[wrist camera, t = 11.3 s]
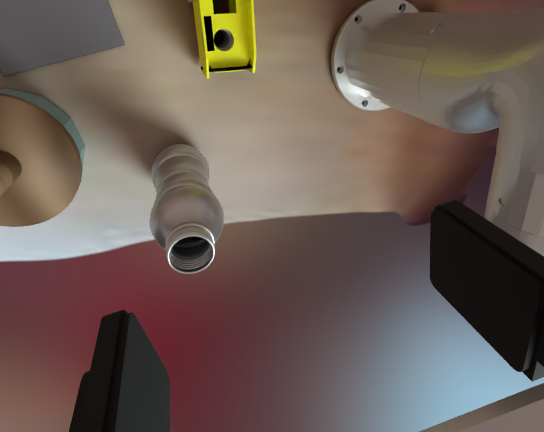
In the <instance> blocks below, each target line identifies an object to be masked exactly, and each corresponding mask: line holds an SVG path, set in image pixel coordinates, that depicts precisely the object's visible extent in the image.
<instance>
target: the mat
mask: <svg viewBox="0 0 544 432" xmlns="http://www.w3.org/2000/svg"><path fill="white" fill-rule="evenodd" d="M123 45H125V44H124V42H123V39H122V36H121V34H120V31H119V29H118V26H117V23H116V21H115V18H114V16H113V13H112V10H111V8H110V5H109V3H108V0H0V71H1V73H2V75H3V76H6V75H10V74H14V73H18V72H22V71H26V70H29V69H33V68H37V67H41V66H45V65H49V64H53V63H57V62H61V61H65V60H69V59H72V58H76V57H80V56H84V55H88V54H92V53H96V52H100V51H104V50H108V49H111V48H115V47H119V46H123Z"/></svg>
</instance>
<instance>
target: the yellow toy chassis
mask: <svg viewBox="0 0 544 432" xmlns="http://www.w3.org/2000/svg"><path fill="white" fill-rule="evenodd" d="M187 2H188V3H189V2H193V9H194V17H195V25H196V33H197V41H198V49H199V57H200V65H201V71H202V72H203V74H204V75H205V76H206V78H209V72H215V73H219V72H231V71H243V70H245V69H247V70H249V71H250V72H252V73H255V63H256V39H255V21H254V4H253V0H228V3H229V13H226V14H214V10H213V0H187ZM218 30H221V31H222V32H223V34H224V41H223V43H222V44H221V45H218V46H216V45H215V44H214V35H215V33H216V32H217V31H218Z"/></svg>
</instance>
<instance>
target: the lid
mask: <svg viewBox="0 0 544 432" xmlns="http://www.w3.org/2000/svg"><path fill="white" fill-rule="evenodd" d="M81 177H82V162H81V157H80V153H79V150H78V148H77V146H76V143H75V141H74V140H73V138H72V136H71V135H70V134H69V132H68V131H67V130H66V128H65V127H64V126H63V125H62V124H61V123H60V122H59V121H58V120H57V119H56V118H55V117H53V116H52V115H51V114H50V113H48V112H47V111H45V110H44V109H42V108H41V107H39V106H37V105H35V104H33V103H31V102H29V101H27V100H24V99H22V98H19V97H16V96H12V95H8V94H3V93H0V226H10V227H18V226H29V225H34V224H38V223H41V222H44V221H47V220H49V219H51V218H53V217H55V216H56V215H58V214H59V213H61V212H62V211H63V210H64V209H65V208H66V207H67V206H68V205H69V204H70V203H71V201H72V200H73V198H74V196H75V194H76V192H77V190H78V188H79V185H80V182H81Z"/></svg>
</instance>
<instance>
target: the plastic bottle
mask: <svg viewBox="0 0 544 432" xmlns="http://www.w3.org/2000/svg"><path fill="white" fill-rule="evenodd" d="M151 177H152V180H153V184H154V186H155V188H156V191H157V195H156V200H155V203H154V205H153V208H152V211H151V215H150V229H151V232H152V235H153V236H154V238H155V239H156V241H157V242H158V244H159V245H160V246H161V247H162V248H164V249H165V250H166V253H167V260H168V263H169V265H170V266H171V267H172V268H173V269H174V270H175V271H177V272H180V273H184V274H192V273H197V272H200V271H202V270H204V269H205V268H207V267H208V266H209V265H210V264H211V262H212V261H213V258H214V255H215V247H214V243H215V241H216V240H217V239H218V237H219V235H220V233H221V231H222V227H223V223H224V213H223V209H222V206H221V204H220V202H219V200H218V199H217V198H216V196H215V195H214V194H213V192H212V191H211V189H210V187H209V183H208V181H209V165H208V162H207V160H206V158H205V157H204V156H203V154H202V153H200V152H199V151H198V150H197V149H196V148H194V147H192V146H189V145H186V144H175V145H171V146H169V147H166V148H165V149H163V150H162V151H161V152H160V153H159V154H158V156H157V157H156V159H155V160H154V162H153V165H152V169H151Z"/></svg>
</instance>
